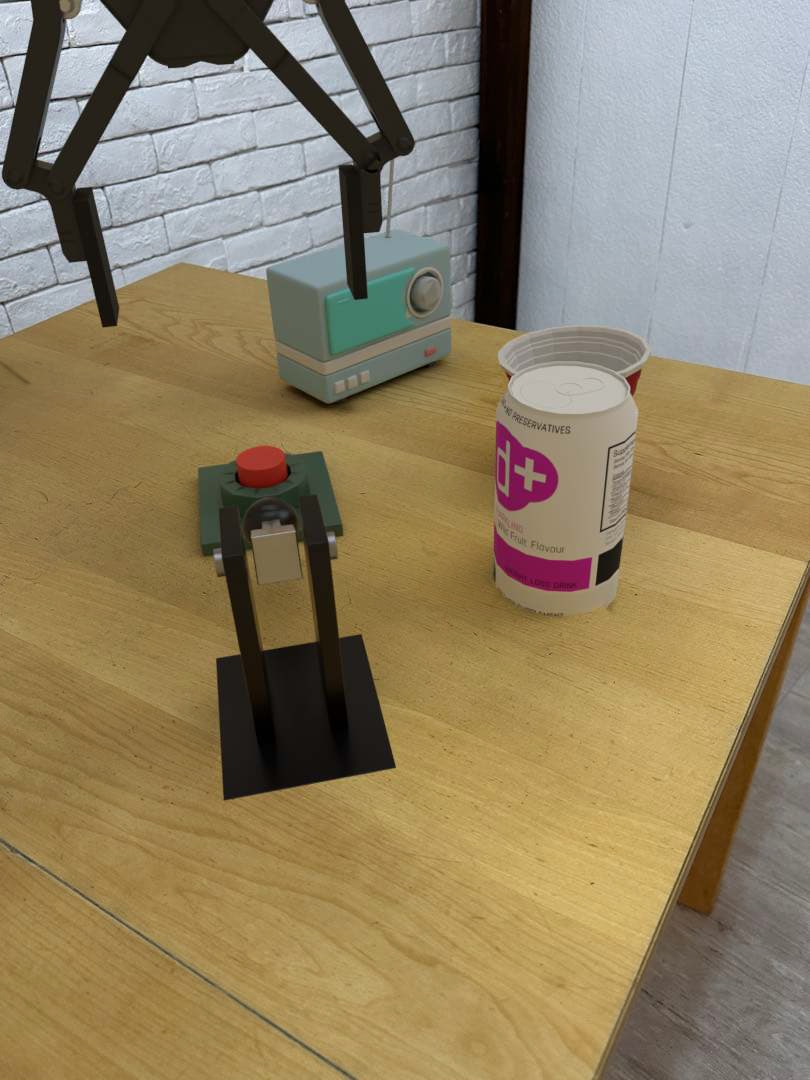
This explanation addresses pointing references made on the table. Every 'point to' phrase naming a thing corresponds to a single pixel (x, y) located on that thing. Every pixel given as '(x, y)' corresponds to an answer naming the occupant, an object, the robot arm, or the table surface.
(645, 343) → the plastic cup
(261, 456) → the button
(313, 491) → the button box
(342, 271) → the radio
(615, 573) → the supplement can
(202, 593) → the table surface
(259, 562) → the lever
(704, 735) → the table surface
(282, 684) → the bracket
